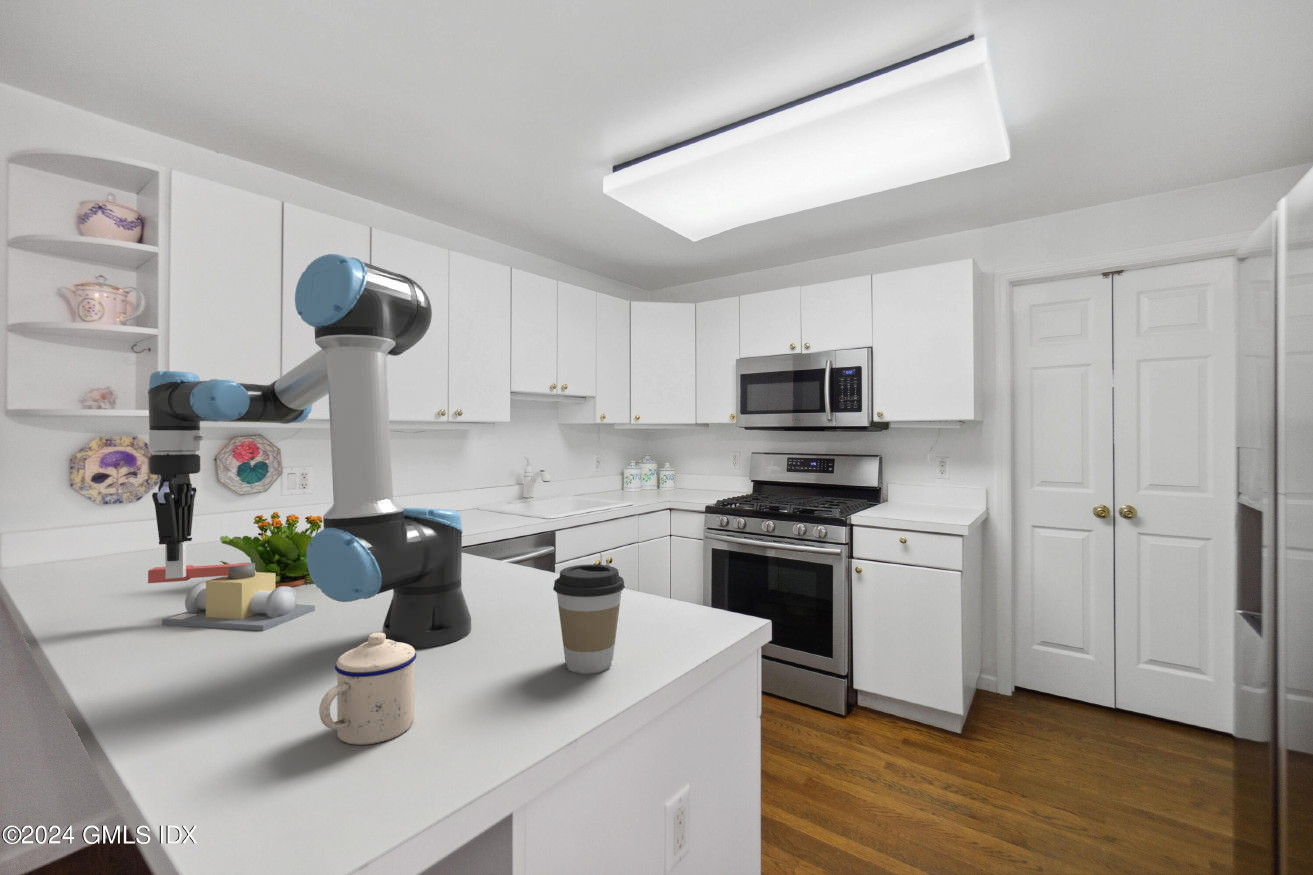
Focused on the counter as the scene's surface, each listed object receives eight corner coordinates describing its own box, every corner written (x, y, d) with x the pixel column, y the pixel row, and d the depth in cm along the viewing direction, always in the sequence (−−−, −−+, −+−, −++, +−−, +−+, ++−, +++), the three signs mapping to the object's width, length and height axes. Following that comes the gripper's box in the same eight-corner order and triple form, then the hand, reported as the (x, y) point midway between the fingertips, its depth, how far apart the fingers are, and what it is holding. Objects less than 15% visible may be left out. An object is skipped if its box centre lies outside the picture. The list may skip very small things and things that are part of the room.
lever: (257, 573, 119) (257, 560, 119) (251, 578, 115) (251, 564, 115) (157, 580, 113) (157, 566, 113) (146, 585, 109) (146, 571, 109)
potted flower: (296, 600, 128) (296, 520, 128) (189, 599, 128) (189, 520, 128) (356, 573, 153) (356, 506, 153) (267, 572, 153) (267, 506, 153)
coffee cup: (635, 656, 96) (635, 565, 96) (607, 684, 85) (607, 582, 85) (573, 648, 100) (573, 560, 100) (539, 673, 89) (539, 575, 89)
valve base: (314, 610, 121) (314, 571, 121) (263, 630, 108) (263, 587, 108) (222, 604, 124) (222, 567, 124) (162, 624, 111) (162, 582, 111)
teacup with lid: (380, 705, 78) (380, 619, 78) (432, 718, 75) (432, 628, 75) (294, 749, 67) (294, 649, 67) (349, 767, 64) (349, 661, 64)
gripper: (184, 453, 106) (185, 583, 106) (211, 452, 118) (212, 568, 118) (133, 454, 103) (134, 587, 103) (166, 453, 116) (167, 571, 115)
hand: (175, 577), depth 111 cm, fingers closed
